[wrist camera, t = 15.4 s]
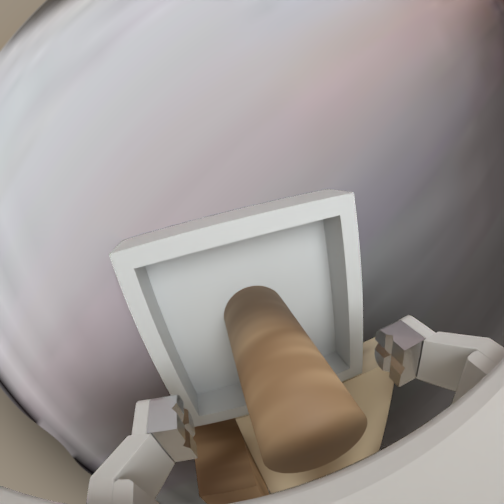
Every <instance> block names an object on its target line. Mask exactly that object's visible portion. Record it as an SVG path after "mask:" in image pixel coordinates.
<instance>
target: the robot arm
mask: <svg viewBox="0 0 504 504" xmlns="http://www.w3.org/2000/svg"><path fill="white" fill-rule="evenodd" d="M375 340H376V341H377V342H378V344H377V346H376V347H375V359H376V362H377V364H378V366H379V367H380V368H381V369H382V370H383V371H387V372H389V378H390V379H391V380H392V381H393V382H394V383H395V384H396V385H397V386H398V387H400V386H402V385H404V384H406V383H408V382H409V381H411V380H413V379H415V378H416V377H417V378H416V379H419V380H422V381H425V382H428V383H431V384H434V385H437V386H440V387H443V388H446V389H450V390H453V391H456V393H455V395H454V398H453V400H452V405H451V406H449V407H448V408H447V409H445V410H444V411H443V412H441V413H440V414H439V415H437V416H436V417H434V418H433V419H432V420H430V421H429V422H427V423H426V424H424V425H423V426H421V427H420V428H418V429H417V430H415V431H413V432H412V433H410V434H409V435H407V436H405V437H404V438H402V439H400V440H399V441H397V442H395V443H394V444H392V445H390V446H388V447H386V448H385V449H383V450H381V451H379V452H377V453H375V454H373V455H371V456H369V457H367V458H365V459H363V460H361V461H359V462H357V463H355V464H353V465H351V466H348V467H346V468H344V469H342V470H339V471H337V472H335V473H332V474H330V475H327V476H325V477H322V478H319V479H317V480H314V481H311V482H308V483H306V484H303V485H300V486H297V487H294V488H290V489H287V490H284V491H280V492H277V493H273V494H270V495H266V496H262V497H258V498H253V499H249V500H244V501H239V502H234V503H229V504H504V348H503V347H502V346H501V345H499V344H498V343H496V342H495V341H493V340H492V339H490V338H486V337H477V336H469V335H461V334H454V333H446V332H437V333H435V332H434V331H433V330H431V329H430V328H428V327H427V326H425V325H424V324H423V323H421V322H420V321H418V320H417V319H415V318H414V317H413V316H410V315H407V316H405V317H403V318H401V319H399V320H398V321H396V322H394V323H392V324H390V325H388V326H386V327H383V328H381V329H379V330H377V332H376V334H375ZM194 435H195V427H194V423H193V419H192V417H191V414H190V413H189V411H188V410H187V409H185V408H184V402H183V400H182V398H181V397H180V395H172V396H166V397H160V398H153V399H148V400H140V401H138V402H137V403H136V407H135V413H134V420H133V428H132V435H130V436H127V437H126V438H125V439H124V441H123V442H122V443H121V444H120V445H119V446H118V447H117V448H116V450H115V451H114V452H113V453H112V454H111V455H110V456H109V457H108V458H107V460H106V461H105V462H104V463H103V464H102V465H101V466H100V467H99V468H98V469H97V471H96V472H95V473H94V474H93V475H92V476H91V477H90V482H89V489H88V495H87V503H86V504H160V503H159V502H157V501H156V500H155V498H156V496H157V495H158V493H159V491H160V489H161V488H162V486H163V484H164V482H165V480H166V479H167V477H168V475H169V473H170V471H171V470H172V468H173V466H174V464H175V463H174V462H179V461H185V460H191V459H197V458H198V455H197V445H196V442H195V441H194V439H193V437H194ZM0 504H65V503H60V502H55V501H51V500H46V499H42V498H38V497H34V496H31V495H27V494H23V493H21V492H17V491H14V490H11V489H8V488H6V487H3V486H0Z"/></svg>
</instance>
